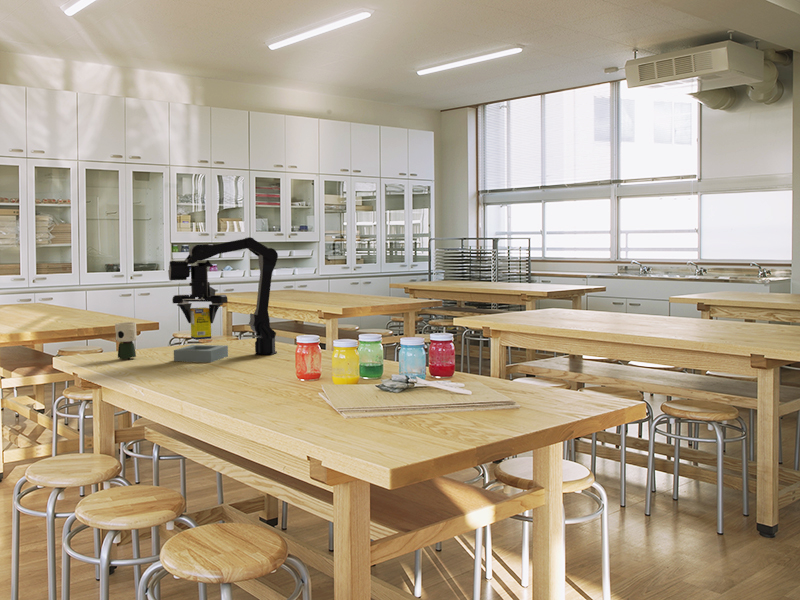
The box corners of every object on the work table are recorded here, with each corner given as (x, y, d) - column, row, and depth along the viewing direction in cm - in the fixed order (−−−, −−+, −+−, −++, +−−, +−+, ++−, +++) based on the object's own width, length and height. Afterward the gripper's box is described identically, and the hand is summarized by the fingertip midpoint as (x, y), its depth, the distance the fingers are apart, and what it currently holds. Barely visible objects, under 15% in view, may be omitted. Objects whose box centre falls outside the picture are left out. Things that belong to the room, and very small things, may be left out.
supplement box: (211, 338, 254) (210, 308, 253) (195, 339, 251) (194, 309, 250) (207, 337, 259) (206, 307, 258) (190, 338, 256) (189, 308, 255)
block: (228, 356, 261) (227, 345, 261) (211, 362, 247) (210, 350, 247) (192, 355, 263) (192, 344, 263) (174, 361, 250) (173, 350, 249)
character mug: (110, 358, 257) (108, 323, 256) (128, 356, 263) (127, 321, 262) (125, 361, 250) (123, 325, 249) (143, 359, 255) (142, 323, 254)
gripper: (233, 278, 260) (234, 321, 261) (186, 278, 263) (187, 320, 264) (220, 280, 249) (221, 324, 250) (170, 280, 252) (172, 323, 253)
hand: (200, 323), depth 255 cm, fingers closed on supplement box, 8 cm apart
